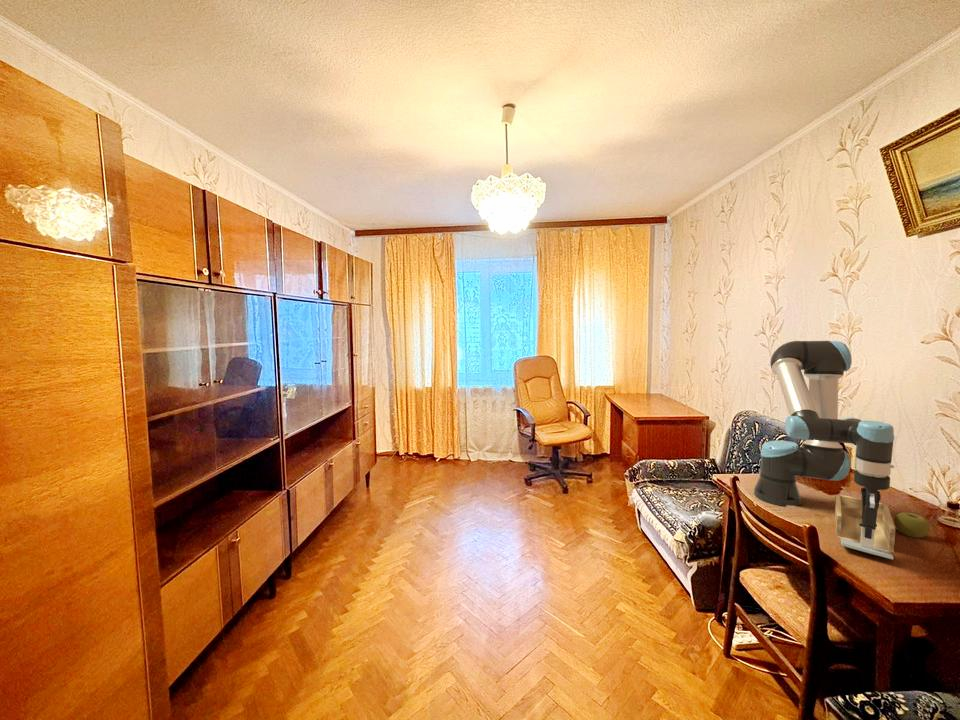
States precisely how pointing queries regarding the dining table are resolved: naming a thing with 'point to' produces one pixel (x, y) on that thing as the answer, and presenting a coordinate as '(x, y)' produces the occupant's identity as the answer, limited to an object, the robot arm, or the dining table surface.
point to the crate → (850, 517)
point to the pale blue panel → (866, 549)
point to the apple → (912, 525)
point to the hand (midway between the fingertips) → (866, 546)
